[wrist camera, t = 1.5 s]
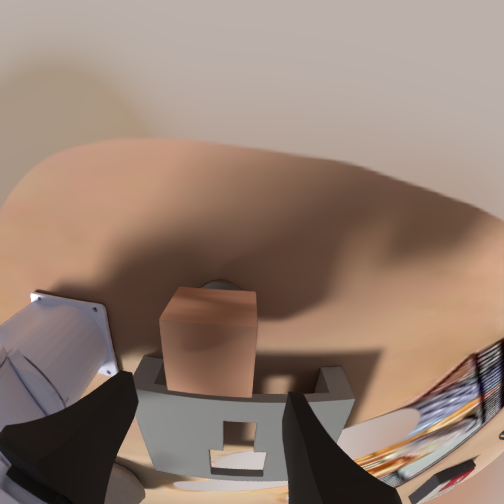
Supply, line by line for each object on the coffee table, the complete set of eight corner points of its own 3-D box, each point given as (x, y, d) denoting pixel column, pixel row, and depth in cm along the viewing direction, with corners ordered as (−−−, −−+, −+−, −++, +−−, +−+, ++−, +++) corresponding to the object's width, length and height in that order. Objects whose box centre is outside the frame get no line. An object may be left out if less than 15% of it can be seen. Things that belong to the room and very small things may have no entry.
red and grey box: (451, 490, 34) (412, 508, 32) (445, 480, 38) (407, 496, 36) (478, 466, 31) (441, 486, 29) (471, 456, 35) (434, 473, 33)
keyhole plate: (163, 442, 26) (155, 470, 22) (143, 355, 23) (127, 387, 18) (312, 450, 27) (318, 478, 22) (341, 366, 23) (355, 398, 19)
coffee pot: (145, 493, 32) (130, 555, 17) (86, 468, 30) (62, 527, 16) (162, 444, 26) (135, 543, 12) (78, 407, 25) (29, 492, 11)
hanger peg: (189, 328, 22) (167, 389, 15) (188, 271, 21) (159, 319, 13) (250, 333, 22) (251, 397, 15) (254, 275, 21) (257, 327, 13)
